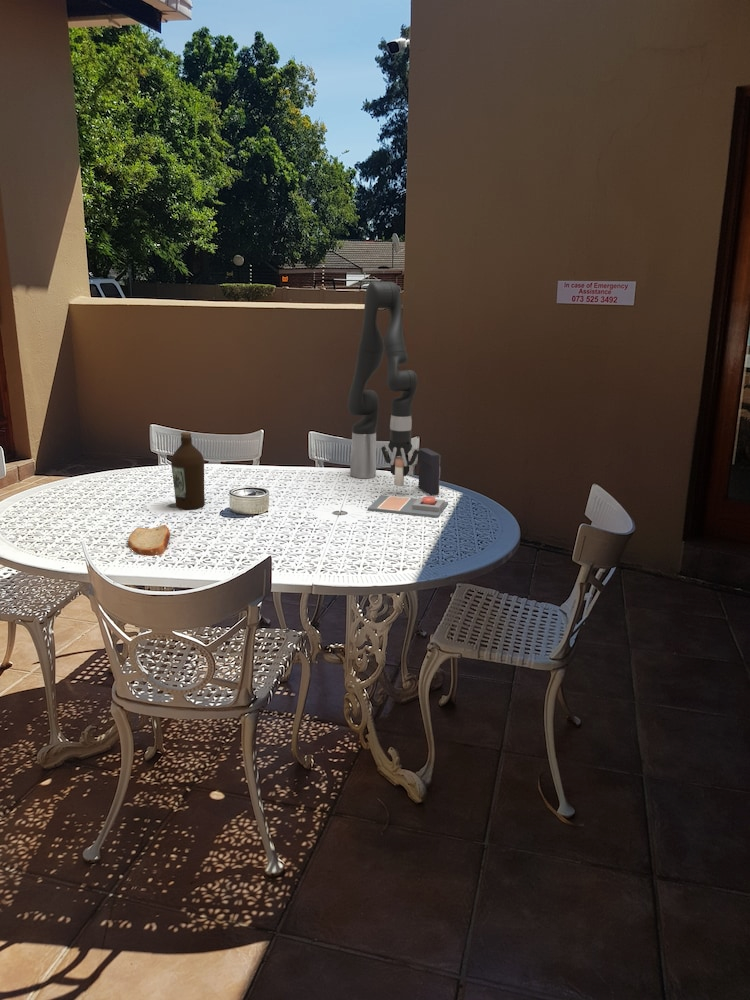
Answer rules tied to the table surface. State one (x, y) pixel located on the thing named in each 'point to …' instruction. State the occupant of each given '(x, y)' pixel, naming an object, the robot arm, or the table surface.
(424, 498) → the button
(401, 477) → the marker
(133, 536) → the bread slice
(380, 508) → the board
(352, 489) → the table surface
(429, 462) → the dark grey upright block
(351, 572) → the table surface
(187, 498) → the olive oil
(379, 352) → the robot arm
